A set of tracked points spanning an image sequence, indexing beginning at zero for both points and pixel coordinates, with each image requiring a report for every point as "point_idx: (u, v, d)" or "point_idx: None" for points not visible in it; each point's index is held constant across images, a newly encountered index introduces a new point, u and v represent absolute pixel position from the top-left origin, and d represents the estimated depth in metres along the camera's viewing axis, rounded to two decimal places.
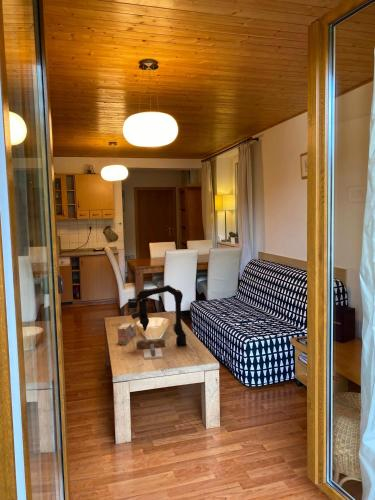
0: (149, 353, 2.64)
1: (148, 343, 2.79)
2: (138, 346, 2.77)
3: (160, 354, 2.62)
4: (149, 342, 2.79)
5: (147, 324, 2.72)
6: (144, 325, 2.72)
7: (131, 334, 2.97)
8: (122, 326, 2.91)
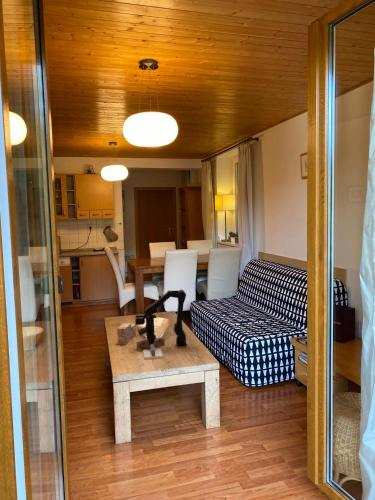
0: (149, 353, 2.64)
1: (149, 343, 2.78)
2: (140, 347, 2.75)
3: (160, 354, 2.62)
4: None
5: None
6: (151, 341, 2.77)
7: (131, 334, 2.97)
8: (122, 326, 2.91)
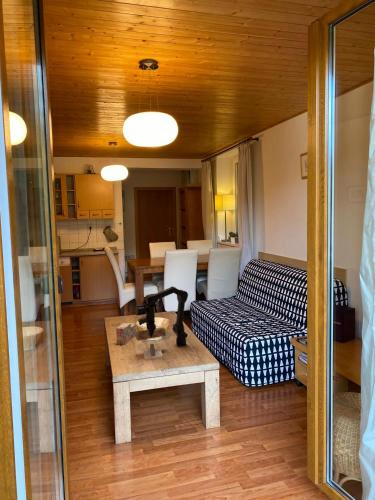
0: (149, 353, 2.64)
1: (149, 333, 2.68)
2: (139, 337, 2.66)
3: (160, 354, 2.62)
4: None
5: (154, 330, 2.67)
6: (151, 330, 2.67)
7: (130, 334, 2.98)
8: (121, 326, 2.92)
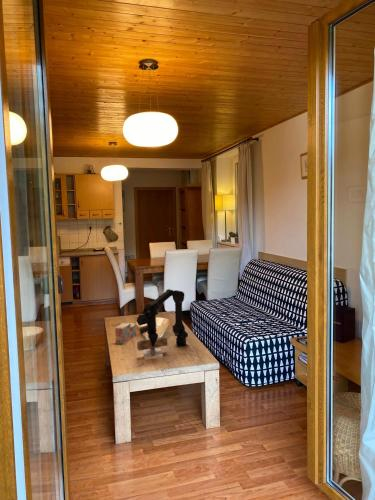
0: (149, 353, 2.64)
1: (150, 343, 2.62)
2: (140, 347, 2.59)
3: (160, 354, 2.62)
4: None
5: (156, 339, 2.59)
6: (153, 340, 2.60)
7: (130, 334, 2.98)
8: (120, 325, 2.92)
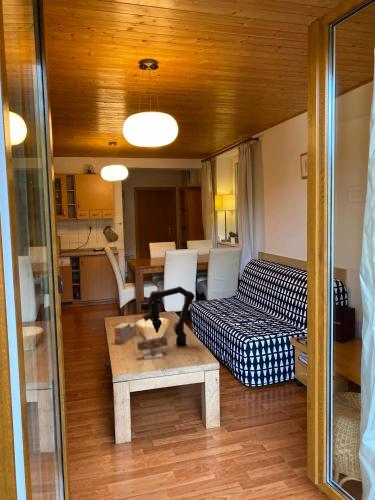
0: (149, 353, 2.64)
1: (150, 343, 2.62)
2: (140, 347, 2.59)
3: (160, 354, 2.62)
4: (151, 342, 2.62)
5: (159, 326, 2.73)
6: (156, 327, 2.73)
7: (130, 334, 2.98)
8: (120, 325, 2.93)
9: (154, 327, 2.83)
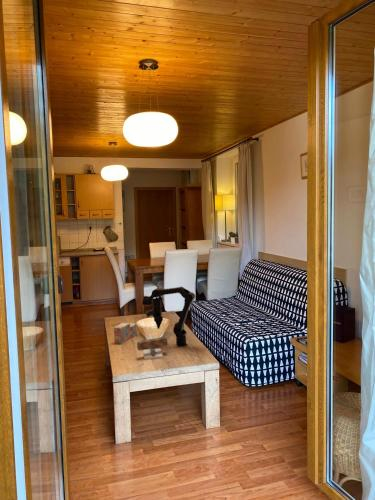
0: (149, 353, 2.64)
1: (150, 343, 2.62)
2: (140, 347, 2.59)
3: (160, 354, 2.62)
4: (151, 342, 2.62)
5: (161, 322, 2.81)
6: (158, 323, 2.82)
7: (129, 334, 2.98)
8: (119, 325, 2.93)
9: (156, 323, 2.92)
